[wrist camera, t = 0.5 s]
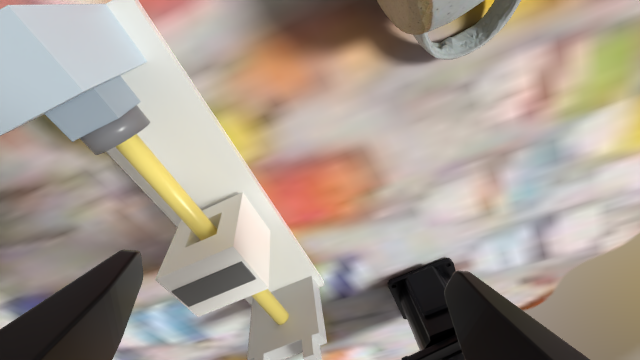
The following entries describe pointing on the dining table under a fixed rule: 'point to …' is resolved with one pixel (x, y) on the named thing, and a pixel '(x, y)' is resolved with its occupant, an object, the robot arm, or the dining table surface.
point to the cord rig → (153, 140)
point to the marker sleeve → (219, 258)
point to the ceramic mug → (441, 8)
